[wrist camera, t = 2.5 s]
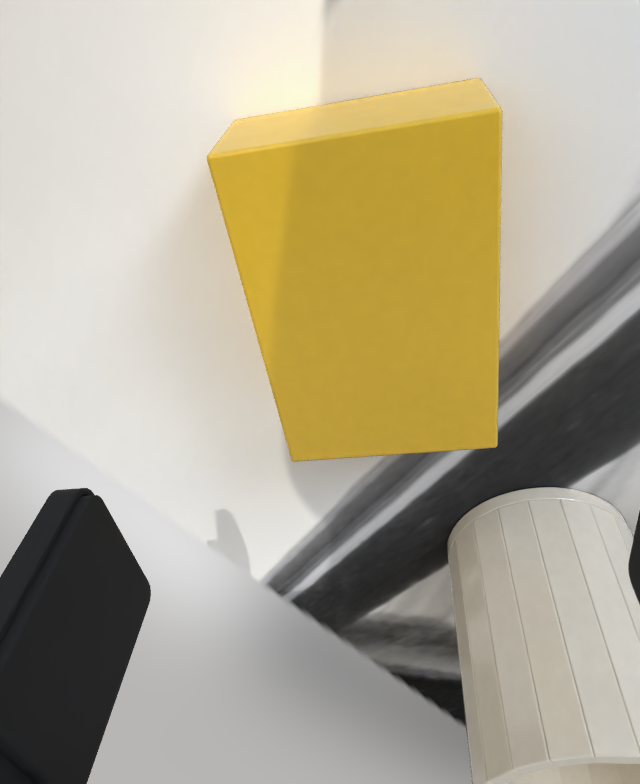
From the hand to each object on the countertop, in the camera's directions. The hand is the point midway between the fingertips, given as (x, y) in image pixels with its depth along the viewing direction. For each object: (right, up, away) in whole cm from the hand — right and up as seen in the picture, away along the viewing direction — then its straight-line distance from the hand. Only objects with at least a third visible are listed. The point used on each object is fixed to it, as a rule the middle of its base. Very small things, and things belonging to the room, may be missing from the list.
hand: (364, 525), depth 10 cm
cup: (+8, -4, +13) cm, 16 cm away
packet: (+1, +6, +6) cm, 9 cm away
